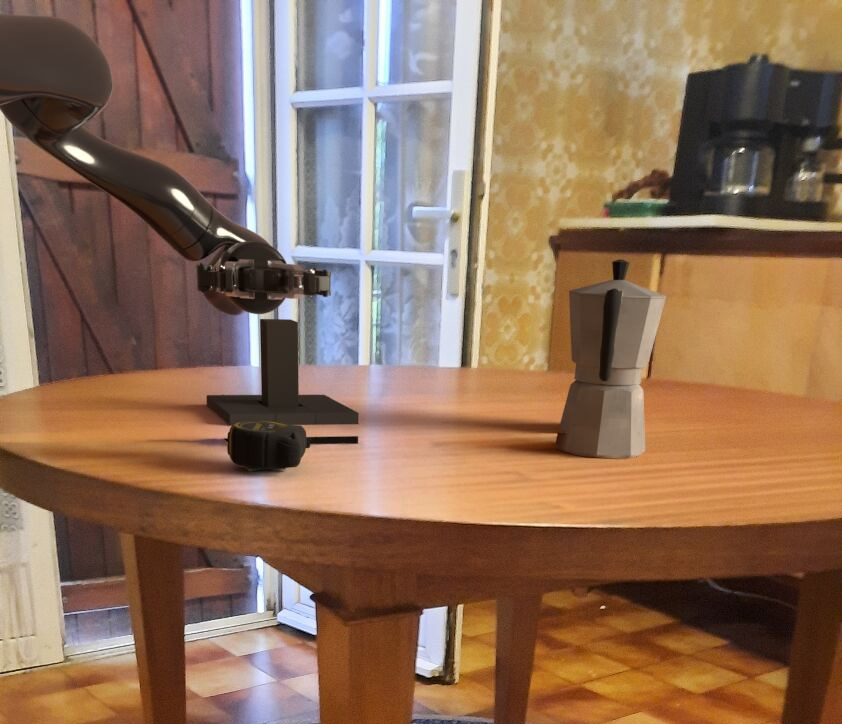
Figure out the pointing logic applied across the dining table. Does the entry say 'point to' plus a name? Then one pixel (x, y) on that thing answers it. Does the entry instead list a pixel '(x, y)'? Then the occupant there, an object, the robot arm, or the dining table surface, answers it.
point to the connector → (279, 362)
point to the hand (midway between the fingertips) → (271, 282)
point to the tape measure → (266, 445)
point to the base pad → (286, 413)
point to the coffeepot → (609, 367)
